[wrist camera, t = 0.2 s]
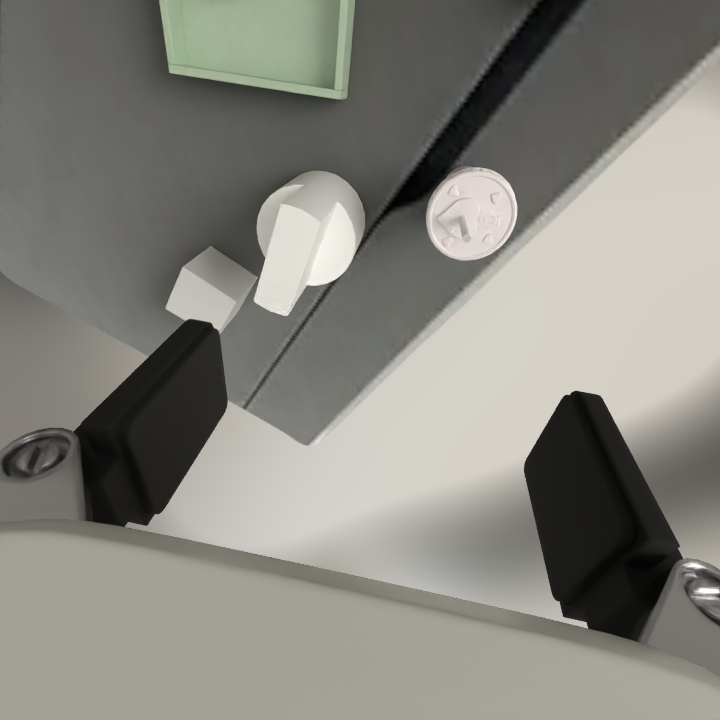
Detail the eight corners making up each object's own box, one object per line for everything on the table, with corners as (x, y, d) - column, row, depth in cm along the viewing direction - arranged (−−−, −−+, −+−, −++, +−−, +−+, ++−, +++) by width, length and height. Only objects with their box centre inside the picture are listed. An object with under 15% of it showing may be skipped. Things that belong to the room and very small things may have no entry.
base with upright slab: (292, 153, 36) (241, 180, 26) (380, 196, 37) (361, 238, 27) (268, 239, 41) (218, 288, 32) (345, 275, 42) (319, 333, 33)
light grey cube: (258, 277, 44) (236, 301, 39) (237, 312, 47) (215, 339, 43) (210, 245, 43) (182, 266, 38) (192, 284, 46) (164, 308, 41)
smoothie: (431, 148, 34) (429, 182, 23) (506, 149, 33) (543, 185, 22) (424, 222, 38) (420, 283, 26) (492, 224, 37) (517, 288, 26)
